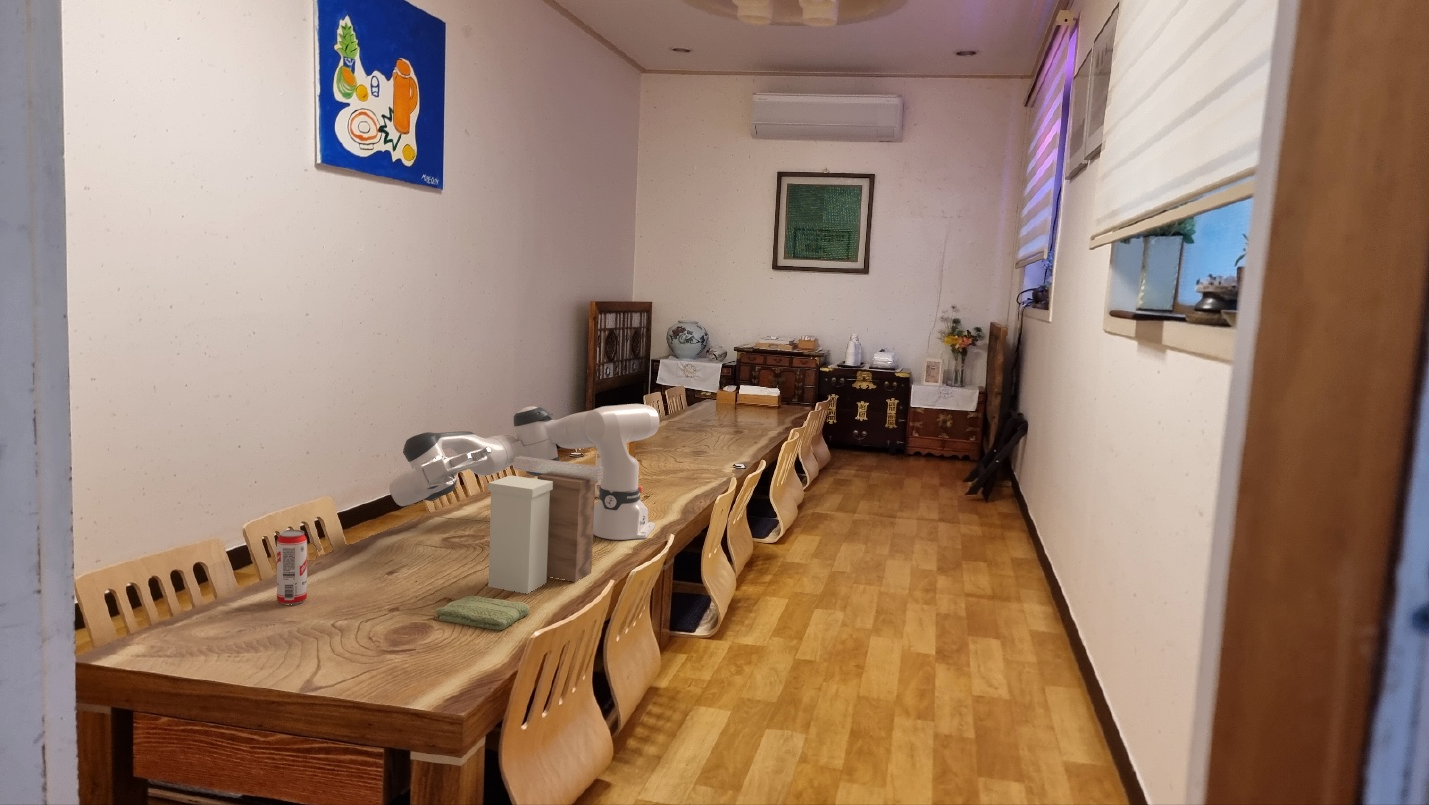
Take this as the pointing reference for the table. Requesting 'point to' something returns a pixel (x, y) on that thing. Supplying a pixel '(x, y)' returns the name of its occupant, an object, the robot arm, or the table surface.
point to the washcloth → (483, 612)
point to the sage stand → (518, 533)
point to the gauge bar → (558, 468)
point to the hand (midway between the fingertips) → (479, 452)
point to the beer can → (291, 567)
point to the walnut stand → (570, 527)
